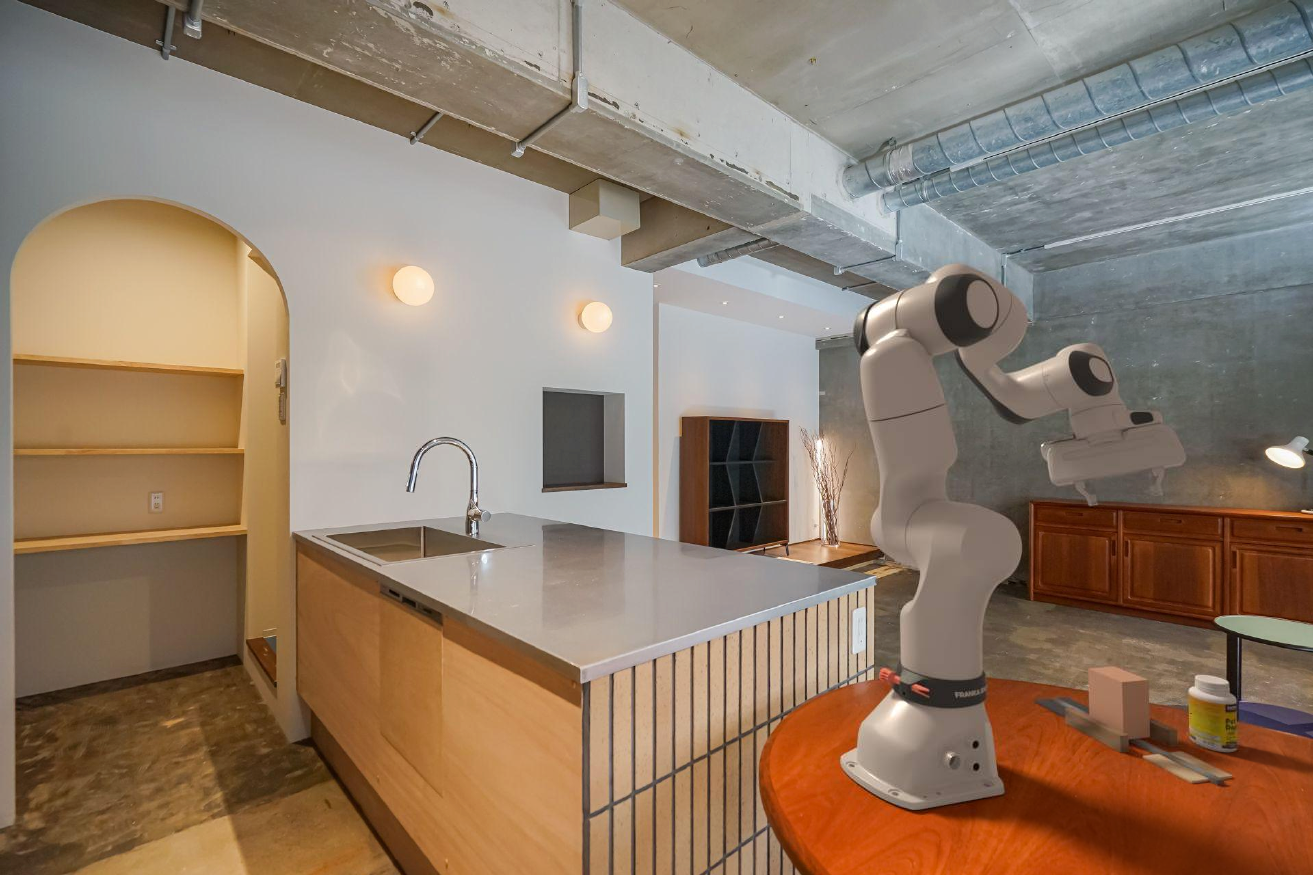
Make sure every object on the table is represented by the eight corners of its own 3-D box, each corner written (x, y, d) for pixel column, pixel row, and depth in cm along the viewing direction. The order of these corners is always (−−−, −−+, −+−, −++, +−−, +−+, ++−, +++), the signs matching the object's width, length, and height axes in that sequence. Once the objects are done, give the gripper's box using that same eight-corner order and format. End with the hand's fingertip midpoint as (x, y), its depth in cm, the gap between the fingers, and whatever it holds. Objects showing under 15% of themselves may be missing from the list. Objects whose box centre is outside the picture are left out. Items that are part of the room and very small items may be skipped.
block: (1089, 722, 101) (1088, 668, 101) (1114, 720, 101) (1113, 666, 102) (1123, 739, 95) (1122, 682, 95) (1150, 736, 96) (1148, 679, 96)
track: (1028, 703, 110) (1027, 689, 110) (1077, 698, 112) (1077, 685, 112) (1189, 788, 82) (1188, 770, 82) (1251, 780, 84) (1250, 762, 84)
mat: (1142, 757, 91) (1142, 755, 91) (1181, 752, 92) (1181, 751, 92) (1191, 783, 84) (1191, 780, 84) (1232, 777, 85) (1232, 775, 85)
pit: (1034, 701, 111) (1034, 699, 111) (1066, 698, 112) (1066, 696, 112) (1066, 718, 104) (1066, 716, 104) (1101, 714, 105) (1101, 712, 105)
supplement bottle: (1231, 757, 90) (1230, 688, 91) (1184, 742, 95) (1182, 677, 95) (1243, 747, 93) (1241, 680, 94) (1196, 733, 98) (1194, 669, 98)
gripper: (1035, 437, 116) (1056, 508, 112) (1170, 409, 105) (1198, 486, 101) (1039, 444, 121) (1059, 512, 117) (1169, 417, 110) (1195, 491, 105)
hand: (1124, 500), depth 109 cm, fingers open, 8 cm apart
